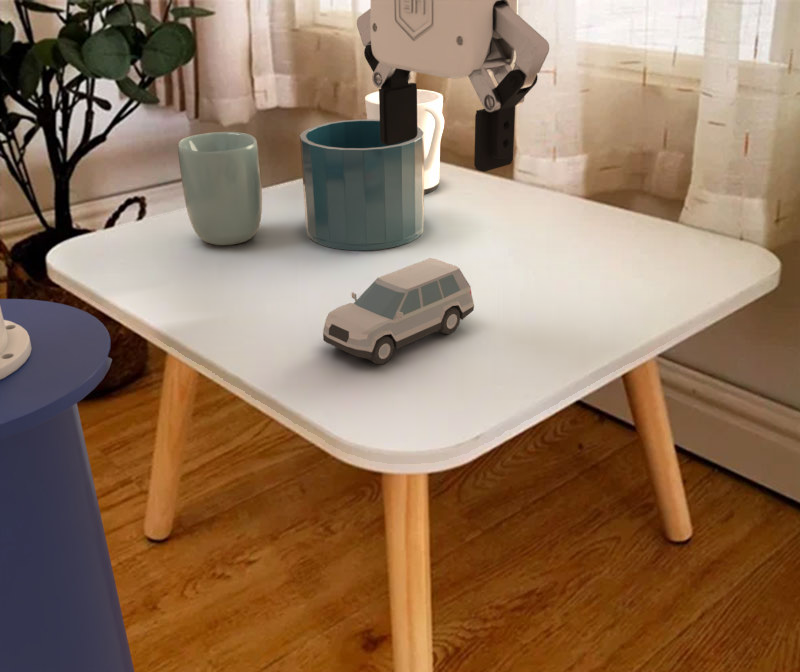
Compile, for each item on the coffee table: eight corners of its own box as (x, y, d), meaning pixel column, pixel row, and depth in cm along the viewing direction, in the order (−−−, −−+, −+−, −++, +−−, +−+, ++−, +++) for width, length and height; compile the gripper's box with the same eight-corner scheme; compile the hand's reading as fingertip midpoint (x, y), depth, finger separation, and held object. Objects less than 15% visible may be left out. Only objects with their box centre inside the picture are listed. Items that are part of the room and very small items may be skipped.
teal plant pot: (367, 259, 91) (363, 156, 86) (282, 232, 98) (274, 136, 93) (447, 227, 99) (448, 131, 94) (363, 204, 106) (360, 113, 101)
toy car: (314, 352, 74) (310, 293, 71) (429, 304, 82) (428, 249, 79) (363, 376, 70) (361, 315, 68) (478, 324, 78) (480, 267, 76)
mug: (352, 185, 112) (349, 96, 107) (409, 171, 117) (408, 85, 112) (411, 206, 105) (410, 112, 100) (469, 190, 110) (471, 100, 105)
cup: (258, 222, 101) (250, 128, 96) (272, 246, 95) (264, 147, 90) (185, 231, 99) (172, 135, 94) (194, 256, 93) (181, 155, 88)
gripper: (314, -119, 62) (328, 141, 71) (506, -119, 51) (496, 191, 59) (399, -121, 67) (402, 124, 75) (594, -122, 55) (572, 167, 64)
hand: (444, 153), depth 67 cm, fingers open, 9 cm apart
